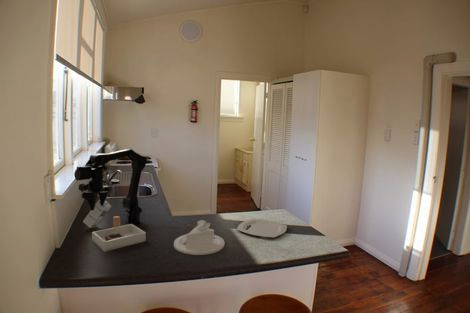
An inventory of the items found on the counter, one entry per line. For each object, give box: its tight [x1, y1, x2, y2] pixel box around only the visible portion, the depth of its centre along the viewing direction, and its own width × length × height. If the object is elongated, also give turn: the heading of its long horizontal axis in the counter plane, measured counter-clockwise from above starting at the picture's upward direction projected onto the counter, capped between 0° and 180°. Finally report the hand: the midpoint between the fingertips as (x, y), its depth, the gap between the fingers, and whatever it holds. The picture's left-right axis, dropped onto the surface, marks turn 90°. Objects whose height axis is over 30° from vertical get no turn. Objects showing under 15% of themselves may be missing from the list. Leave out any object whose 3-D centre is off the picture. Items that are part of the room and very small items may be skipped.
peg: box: [112, 215, 121, 228], centre depth 159 cm, size 4×4×8 cm
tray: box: [91, 223, 147, 253], centre depth 148 cm, size 20×16×4 cm
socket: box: [105, 233, 125, 241], centre depth 146 cm, size 7×7×2 cm
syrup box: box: [82, 199, 112, 229], centre depth 163 cm, size 6×6×14 cm
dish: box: [173, 219, 226, 256], centre depth 148 cm, size 25×25×11 cm
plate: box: [236, 218, 288, 239], centre depth 171 cm, size 27×27×2 cm
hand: (97, 207), depth 156 cm, fingers open, 9 cm apart
